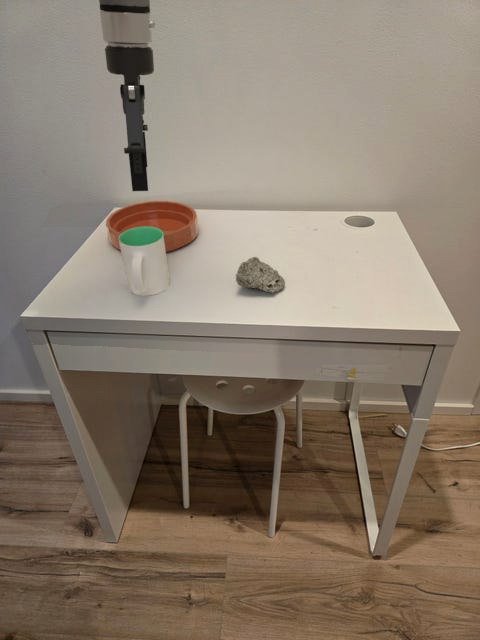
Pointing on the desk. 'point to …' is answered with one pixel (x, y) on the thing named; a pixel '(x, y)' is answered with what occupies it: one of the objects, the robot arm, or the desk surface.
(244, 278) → the rock sample
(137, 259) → the mug
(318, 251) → the desk surface
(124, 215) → the bowl
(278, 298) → the desk surface
